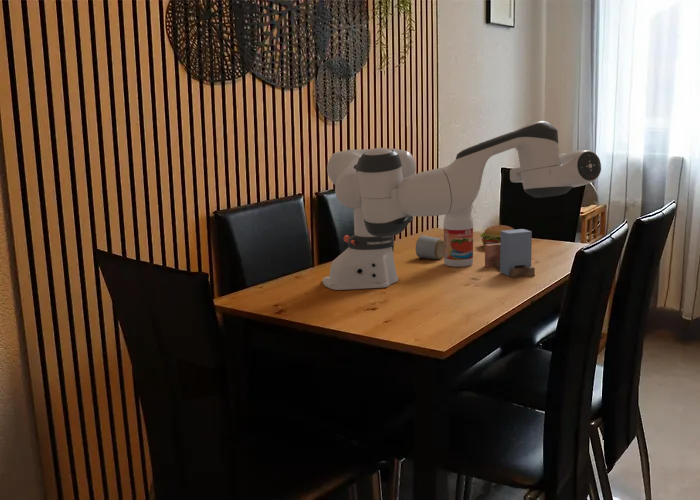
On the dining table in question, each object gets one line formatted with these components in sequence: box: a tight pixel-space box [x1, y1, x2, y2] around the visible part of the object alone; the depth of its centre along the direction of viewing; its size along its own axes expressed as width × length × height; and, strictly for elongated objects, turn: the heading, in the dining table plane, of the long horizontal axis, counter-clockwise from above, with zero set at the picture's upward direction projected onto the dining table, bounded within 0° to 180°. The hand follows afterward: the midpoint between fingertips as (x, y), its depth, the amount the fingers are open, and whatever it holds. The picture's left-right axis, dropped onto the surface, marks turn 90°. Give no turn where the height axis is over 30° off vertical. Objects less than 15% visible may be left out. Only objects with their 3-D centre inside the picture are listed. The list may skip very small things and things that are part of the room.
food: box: [480, 224, 515, 248], centre depth 252 cm, size 14×14×8 cm
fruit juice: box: [443, 203, 474, 268], centre depth 225 cm, size 9×9×28 cm
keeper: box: [499, 228, 533, 277], centre depth 211 cm, size 8×5×13 cm, turn 106°
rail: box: [484, 243, 536, 279], centre depth 216 cm, size 7×18×7 cm, turn 16°
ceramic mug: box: [415, 234, 444, 260], centre depth 239 cm, size 11×8×8 cm
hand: (536, 176), depth 195 cm, fingers open, 8 cm apart
